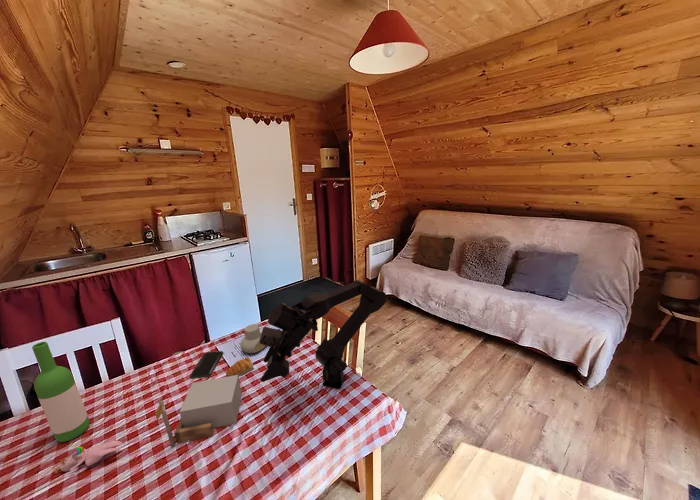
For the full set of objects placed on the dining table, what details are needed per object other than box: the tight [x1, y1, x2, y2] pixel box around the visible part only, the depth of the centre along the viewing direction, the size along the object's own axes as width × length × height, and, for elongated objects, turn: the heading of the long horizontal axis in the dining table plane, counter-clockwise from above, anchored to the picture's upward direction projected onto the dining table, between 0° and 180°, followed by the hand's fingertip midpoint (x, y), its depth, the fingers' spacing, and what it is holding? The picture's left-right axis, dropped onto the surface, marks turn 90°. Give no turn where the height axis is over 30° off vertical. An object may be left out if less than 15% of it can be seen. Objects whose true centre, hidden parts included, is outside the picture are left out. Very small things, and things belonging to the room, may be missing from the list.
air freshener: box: [239, 323, 266, 354], centre depth 123 cm, size 11×8×10 cm
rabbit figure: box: [53, 440, 123, 474], centre depth 78 cm, size 6×6×15 cm
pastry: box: [225, 356, 254, 377], centre depth 111 cm, size 9×7×4 cm
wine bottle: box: [31, 341, 90, 443], centre depth 84 cm, size 8×8×30 cm
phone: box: [189, 350, 224, 380], centre depth 116 cm, size 8×1×15 cm
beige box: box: [179, 375, 243, 429], centre depth 91 cm, size 14×12×8 cm
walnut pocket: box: [154, 399, 215, 449], centre depth 87 cm, size 11×21×15 cm, turn 11°
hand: (263, 370), depth 92 cm, fingers open, 9 cm apart
